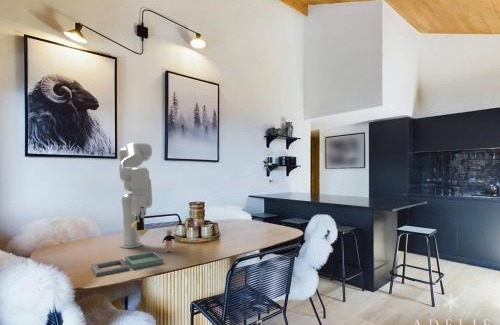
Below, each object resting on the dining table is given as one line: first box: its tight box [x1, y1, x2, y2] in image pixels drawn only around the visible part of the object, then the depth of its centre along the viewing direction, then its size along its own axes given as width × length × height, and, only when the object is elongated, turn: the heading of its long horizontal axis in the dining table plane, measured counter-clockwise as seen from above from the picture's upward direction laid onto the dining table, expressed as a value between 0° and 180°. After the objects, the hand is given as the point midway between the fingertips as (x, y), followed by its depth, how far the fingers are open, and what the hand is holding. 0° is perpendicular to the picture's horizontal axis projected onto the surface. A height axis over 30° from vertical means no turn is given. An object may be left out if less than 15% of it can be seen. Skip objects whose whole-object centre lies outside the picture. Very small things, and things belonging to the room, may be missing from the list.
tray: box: [124, 251, 164, 271], centre depth 149 cm, size 15×15×2 cm
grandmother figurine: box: [161, 229, 177, 253], centre depth 168 cm, size 8×4×13 cm, turn 126°
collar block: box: [90, 258, 131, 277], centre depth 140 cm, size 14×14×2 cm
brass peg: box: [131, 220, 149, 237], centre depth 148 cm, size 4×4×7 cm
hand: (139, 228), depth 148 cm, fingers closed on brass peg, 3 cm apart
